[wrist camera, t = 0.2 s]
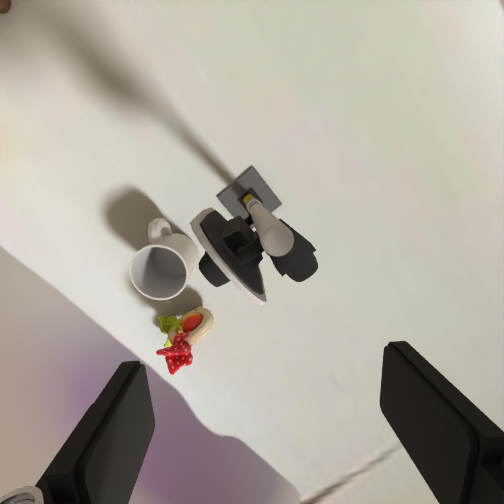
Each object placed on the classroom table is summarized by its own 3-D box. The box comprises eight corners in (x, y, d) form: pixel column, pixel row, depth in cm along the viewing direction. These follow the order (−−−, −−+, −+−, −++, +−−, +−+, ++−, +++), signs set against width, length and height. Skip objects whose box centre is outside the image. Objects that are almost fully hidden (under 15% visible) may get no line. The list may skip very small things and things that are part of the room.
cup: (159, 280, 41) (138, 304, 33) (142, 218, 39) (114, 227, 30) (204, 272, 41) (194, 295, 33) (189, 210, 39) (175, 217, 30)
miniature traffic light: (214, 200, 38) (132, 239, 9) (253, 166, 38) (295, 96, 8) (246, 237, 40) (259, 371, 11) (284, 206, 39) (408, 262, 10)
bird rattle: (192, 289, 44) (144, 322, 41) (207, 303, 34) (145, 349, 31) (211, 317, 46) (167, 351, 43) (231, 338, 35) (174, 385, 32)
